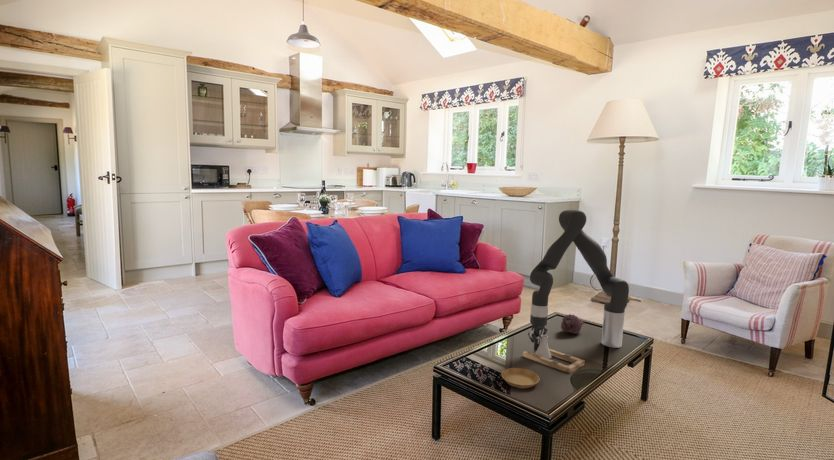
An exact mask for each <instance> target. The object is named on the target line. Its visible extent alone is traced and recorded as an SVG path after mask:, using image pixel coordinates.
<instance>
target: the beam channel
mask: <svg viewBox="0 0 834 460" xmlns="http://www.w3.org/2000/svg"><path fill="white" fill-rule="evenodd" d="M549 351H550V354H551V357H555V358H557V359H561V360H563V361H567V362H569V363H571V364H569V365H566V364H564V363H561V362H559V361H557V360H552V359H547V358H544V357H541V356H538V355H535V353H532V352H530V351H527V350H524V351H523V352H522V357H524V358H526V359H529V360H532V361H534V362H537V363H539V364H543V365H545V366H549V367H550V368H553V369H557V370H559V371H562V372H566V373H568V374H572V373H573V372H575V371H577V370H578V369H580V368H582V367H583V366H585V364H586V360H584V359H582V358H579V357H576V356H573V355H571V354H570V353H569V354H568V353H563V352H560V351H557V350H554V349H551V348H549Z"/></svg>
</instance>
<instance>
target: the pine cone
mask: <svg viewBox="0 0 834 460" xmlns="http://www.w3.org/2000/svg"><path fill="white" fill-rule="evenodd" d="M561 320H562V321H561V323H560V328H561V330H562V331H563V332H565V333H571V334H575V335H576V334H579V333H580V331H581V329H582V327H583V325H585V323H586V322H585V321H583V320H581V319H580V318H579V317H578V316H576V315H574V314H568V315H567V314H566V315H565V316H564V318H562V319H561Z"/></svg>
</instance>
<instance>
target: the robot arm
mask: <svg viewBox="0 0 834 460" xmlns="http://www.w3.org/2000/svg"><path fill="white" fill-rule="evenodd" d="M558 222H559V225H560V227H561V228H562V229H563V233H562V234H561V235H560V236H559V237H558V238H557V239H556V240H555V241H554V242H553V243H552V244H551V245H550V247H549V248H548V249H547V250H546V253H544V254H545V255H544V256H543V258H542V260H541V261H540V262H539V263H538V264H537V265H536V266H535V267H534V268H533V269H532V271H531V272H530V275H529V280H530V282H531V284H533V285H535V286H538V287H539V289H538V290H534V291H533V292H532V296H531V305H530V317H529V324H531V331H530V332H528V334H527V335H528V338H529V340H530V342H532V343H533V351H535V352H536V351H537V349H538V346H539V344H540V341H541V337H540V335H547V332H548V328H547V325H548V319H549V318H548V314H549V295H550V292H551V290H552V287H553V285H554V277H553V274H552V273H551V272H549V271H551V270H556V269H557V267H558V266H559V264H560V262H561V260H562V258H563V256H564V255H565V253H566V251H568V248H569V247H570V246H571V244H572V243H573V244H574V245H575V246H576V248H577V250H578V251H579V252H580V254H581V255H582V257H583V259H584V261H585V262H586V264H587V266H589V268H590V269H591V271H592V273H593V274H594V275H595V277H596V279H597V281H598V283H599V285H600V287H601V289H602V291H603V293H605V294H607V295H609V296H610V301H609V302H605V303H604V305H603V319H602V328H601V329H602V331H601V344H602V345H603V346H605V347H608V348H614V349H615V348H618V349H619V348H622V345H623V338H624V337H623V335H624V324H625V323H624V322H625V311H626V308H627V305H628V302H629V301H628V300H629V293H630V286H629V284H628V282H627V281H626V280H624V279H621V278H618V277H616V276H614V274H613V273H612V272H611V270H610V269H609V267H608V260H607V259H608V258H607V255H606V253H605V251H604V249H603V248H602V247H601V245H600V244H599V242H597V241H596V240H595V239H594V238H592V237H591V236H590V235H588V233H586V232H585V231H584V230H583V229H584V227H585V225H586V224H587V223H586V222H587V215H586V213H585V212H584V211H582V210H580V209H567V210H563V211H561V212H560V213H559V215H558ZM545 327H546V328H545Z"/></svg>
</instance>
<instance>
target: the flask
mask: <svg viewBox="0 0 834 460" xmlns="http://www.w3.org/2000/svg"><path fill="white" fill-rule="evenodd" d="M540 337H541V341H540V344H539V346H538V349H537V351H535V353H534V354H535V355H538V356H541V357H544V358H547V359H550V360H552V358H553V356H551V354H550V351H549V349H550V347H549V345H548V338H549V336H548V335H547V334H546V335H540Z"/></svg>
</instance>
